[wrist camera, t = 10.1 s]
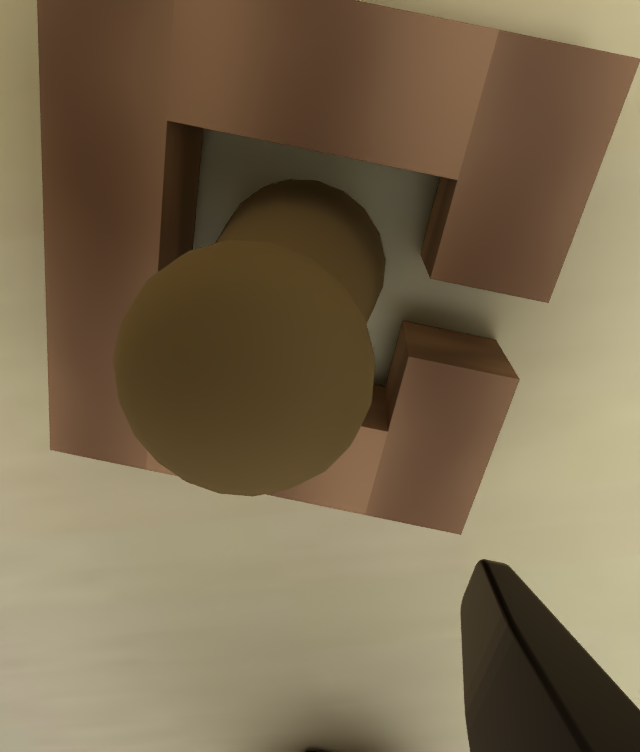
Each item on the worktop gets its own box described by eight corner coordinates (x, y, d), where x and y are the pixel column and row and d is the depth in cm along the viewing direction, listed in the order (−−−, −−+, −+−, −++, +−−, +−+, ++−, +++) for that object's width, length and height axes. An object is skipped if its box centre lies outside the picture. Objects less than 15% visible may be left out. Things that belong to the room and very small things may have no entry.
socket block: (588, 72, 16) (640, 59, 13) (448, 478, 23) (460, 534, 19) (100, -27, 16) (35, -65, 13) (95, 405, 23) (50, 449, 19)
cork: (390, 339, 20) (409, 540, 10) (234, 352, 21) (111, 549, 11) (379, 168, 18) (388, 215, 8) (203, 189, 19) (10, 255, 9)
